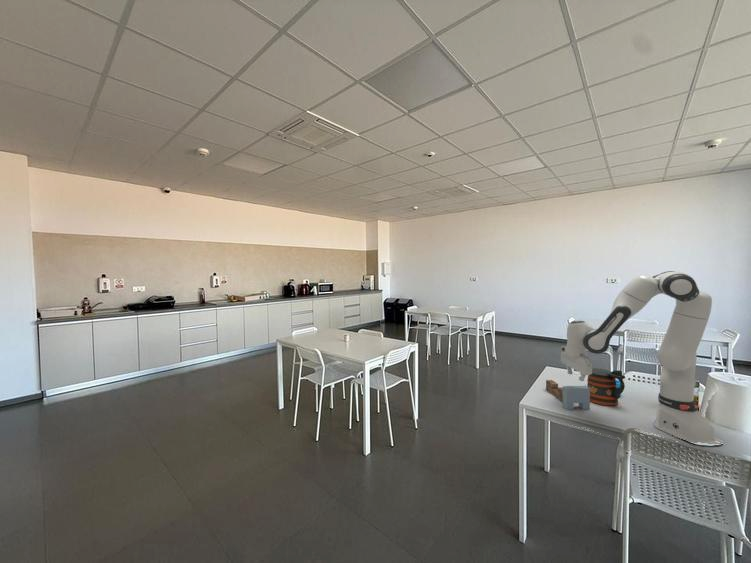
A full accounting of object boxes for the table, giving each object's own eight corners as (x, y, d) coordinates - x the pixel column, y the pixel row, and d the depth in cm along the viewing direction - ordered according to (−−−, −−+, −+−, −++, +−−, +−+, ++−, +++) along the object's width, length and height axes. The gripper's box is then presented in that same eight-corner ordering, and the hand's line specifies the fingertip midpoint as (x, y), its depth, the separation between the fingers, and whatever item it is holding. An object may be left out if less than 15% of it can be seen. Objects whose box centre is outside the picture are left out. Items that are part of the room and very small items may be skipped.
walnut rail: (570, 402, 168) (570, 391, 167) (563, 402, 168) (564, 392, 167) (551, 389, 186) (551, 379, 185) (546, 389, 186) (546, 380, 185)
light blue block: (585, 405, 163) (585, 385, 163) (589, 409, 160) (589, 388, 159) (562, 406, 164) (562, 386, 163) (566, 409, 160) (566, 388, 160)
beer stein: (633, 406, 161) (634, 369, 161) (616, 412, 156) (616, 373, 155) (596, 393, 179) (596, 359, 178) (579, 397, 174) (579, 363, 173)
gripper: (596, 357, 150) (595, 384, 151) (570, 346, 170) (569, 370, 171) (583, 357, 150) (582, 385, 151) (558, 346, 170) (558, 370, 171)
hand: (575, 377), depth 161 cm, fingers open, 8 cm apart
